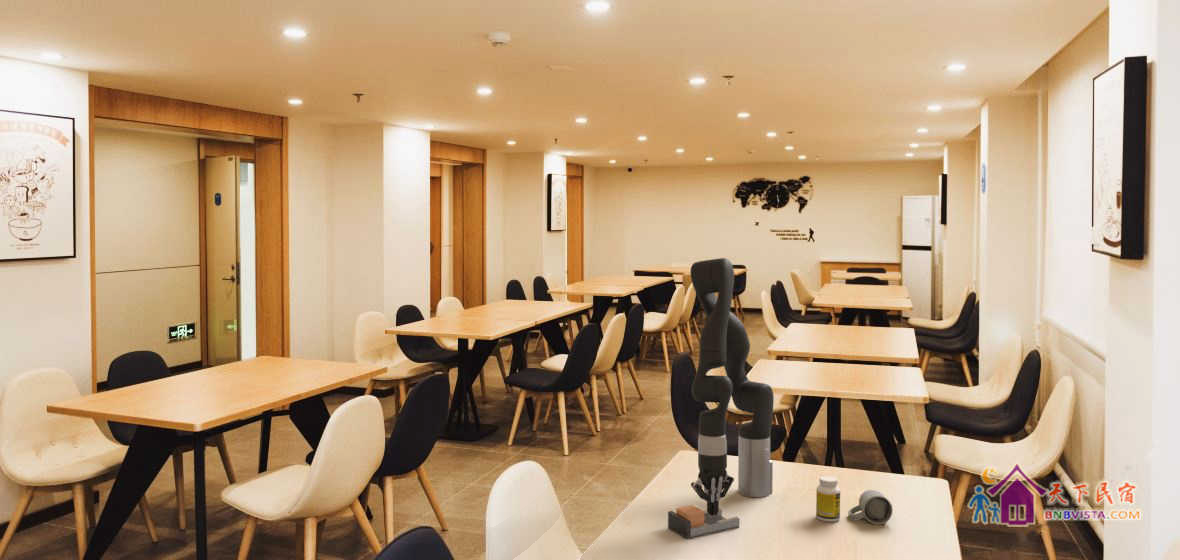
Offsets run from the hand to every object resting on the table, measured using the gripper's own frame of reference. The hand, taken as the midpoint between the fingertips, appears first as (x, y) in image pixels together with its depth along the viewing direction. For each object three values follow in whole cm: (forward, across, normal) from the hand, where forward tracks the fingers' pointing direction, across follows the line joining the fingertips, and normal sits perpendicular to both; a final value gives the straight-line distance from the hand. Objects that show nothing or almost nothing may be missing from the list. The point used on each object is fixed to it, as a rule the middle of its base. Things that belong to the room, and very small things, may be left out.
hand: (712, 514), depth 210 cm
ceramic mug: (+4, -40, +17) cm, 43 cm away
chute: (+3, +2, 0) cm, 4 cm away
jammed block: (+3, +7, 0) cm, 8 cm away
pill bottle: (+4, -30, +11) cm, 33 cm away
